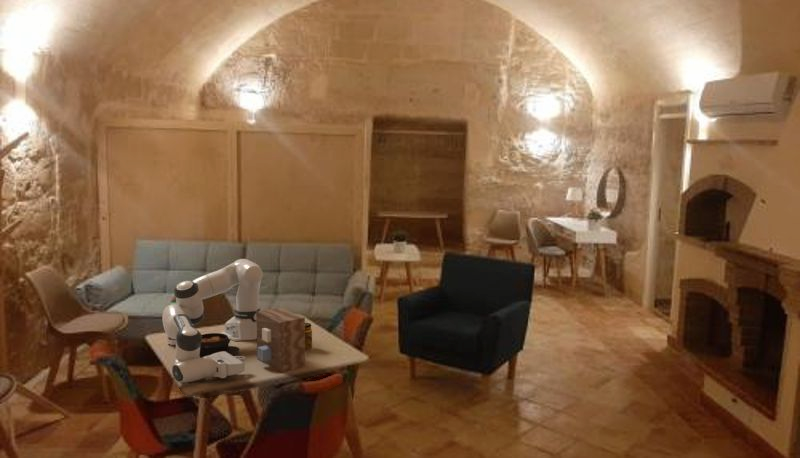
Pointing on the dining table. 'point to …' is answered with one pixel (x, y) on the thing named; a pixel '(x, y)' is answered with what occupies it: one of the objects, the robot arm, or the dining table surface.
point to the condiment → (308, 337)
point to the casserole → (216, 344)
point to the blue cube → (264, 353)
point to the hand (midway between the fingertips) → (245, 358)
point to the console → (282, 338)
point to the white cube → (266, 334)
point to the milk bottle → (169, 340)
